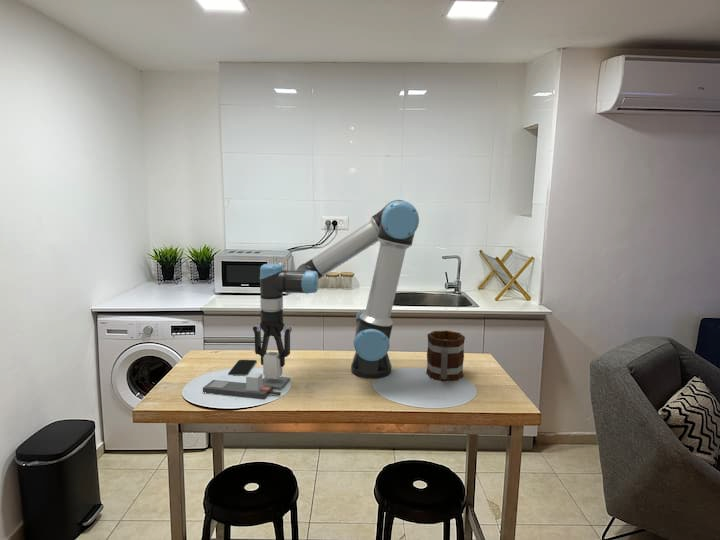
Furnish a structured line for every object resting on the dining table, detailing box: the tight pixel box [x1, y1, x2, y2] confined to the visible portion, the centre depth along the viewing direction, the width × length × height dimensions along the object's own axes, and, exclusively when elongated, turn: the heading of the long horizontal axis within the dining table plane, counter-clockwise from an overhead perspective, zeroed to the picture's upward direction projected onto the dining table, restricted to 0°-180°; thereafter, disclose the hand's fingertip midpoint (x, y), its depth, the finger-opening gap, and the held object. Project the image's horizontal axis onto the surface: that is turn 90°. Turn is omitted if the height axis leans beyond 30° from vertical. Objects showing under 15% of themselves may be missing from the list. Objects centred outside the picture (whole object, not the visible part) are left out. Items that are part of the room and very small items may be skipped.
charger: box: [263, 351, 280, 379], centre depth 173 cm, size 4×4×8 cm
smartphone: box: [227, 359, 258, 377], centre depth 189 cm, size 7×1×15 cm
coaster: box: [262, 376, 291, 391], centre depth 174 cm, size 9×9×1 cm
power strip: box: [202, 379, 282, 400], centre depth 167 cm, size 26×7×2 cm, turn 78°
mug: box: [425, 330, 466, 383], centre depth 180 cm, size 20×14×15 cm
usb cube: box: [245, 371, 264, 391], centre depth 166 cm, size 4×4×4 cm
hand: (273, 374), depth 174 cm, fingers closed on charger, 4 cm apart
